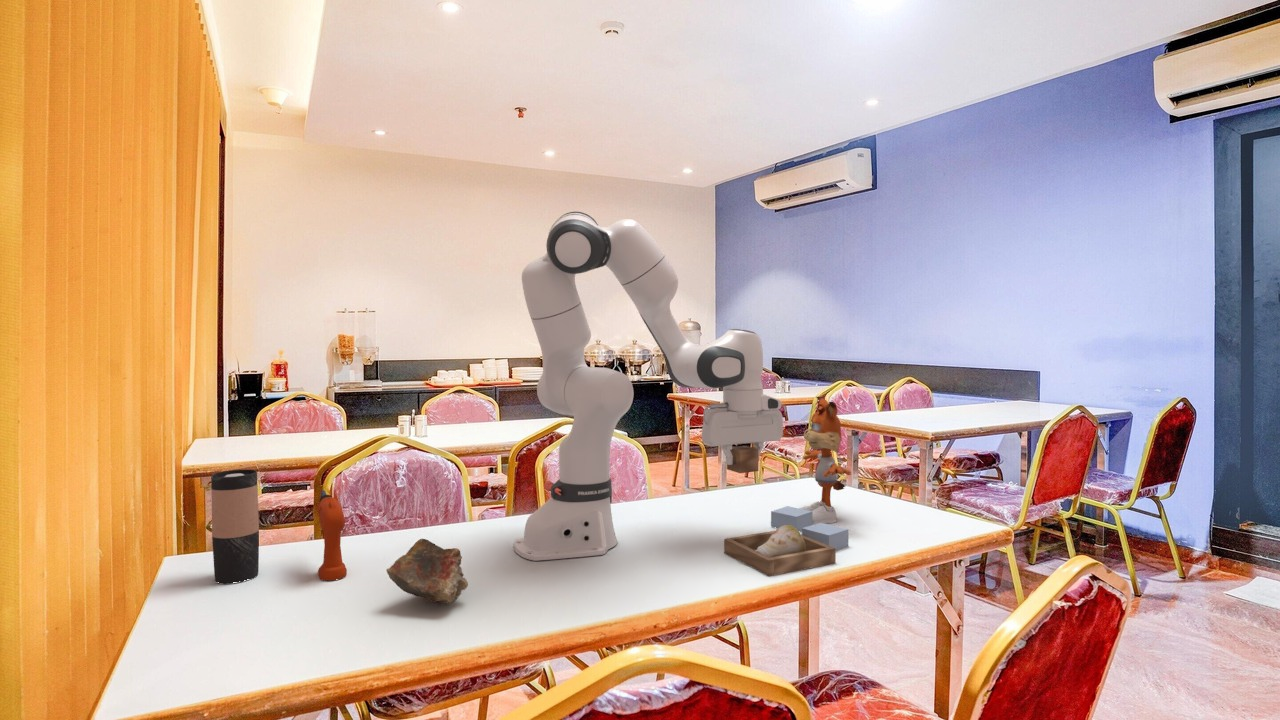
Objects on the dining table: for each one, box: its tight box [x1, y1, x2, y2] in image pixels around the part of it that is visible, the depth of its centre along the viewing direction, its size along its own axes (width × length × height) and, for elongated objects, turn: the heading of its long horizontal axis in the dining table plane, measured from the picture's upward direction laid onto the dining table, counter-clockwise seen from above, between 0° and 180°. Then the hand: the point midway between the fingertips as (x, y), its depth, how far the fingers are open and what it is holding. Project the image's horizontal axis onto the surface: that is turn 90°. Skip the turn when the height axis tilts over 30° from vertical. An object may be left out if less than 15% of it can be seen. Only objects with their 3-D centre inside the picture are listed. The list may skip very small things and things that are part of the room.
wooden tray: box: [723, 530, 837, 577], centre depth 138 cm, size 16×15×3 cm
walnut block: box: [726, 445, 759, 474], centre depth 151 cm, size 5×5×5 cm
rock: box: [386, 538, 469, 604], centre depth 115 cm, size 12×12×10 cm
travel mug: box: [210, 468, 260, 584], centre depth 127 cm, size 8×8×20 cm
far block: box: [770, 505, 814, 533], centre depth 160 cm, size 7×7×4 cm
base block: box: [801, 523, 850, 552], centre depth 146 cm, size 7×7×4 cm
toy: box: [798, 396, 852, 525], centre depth 167 cm, size 30×11×30 cm, turn 178°
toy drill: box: [317, 489, 348, 581], centre depth 133 cm, size 5×19×15 cm, turn 32°
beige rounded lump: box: [756, 525, 806, 558], centre depth 135 cm, size 8×10×10 cm
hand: (742, 463), depth 151 cm, fingers closed on walnut block, 5 cm apart
